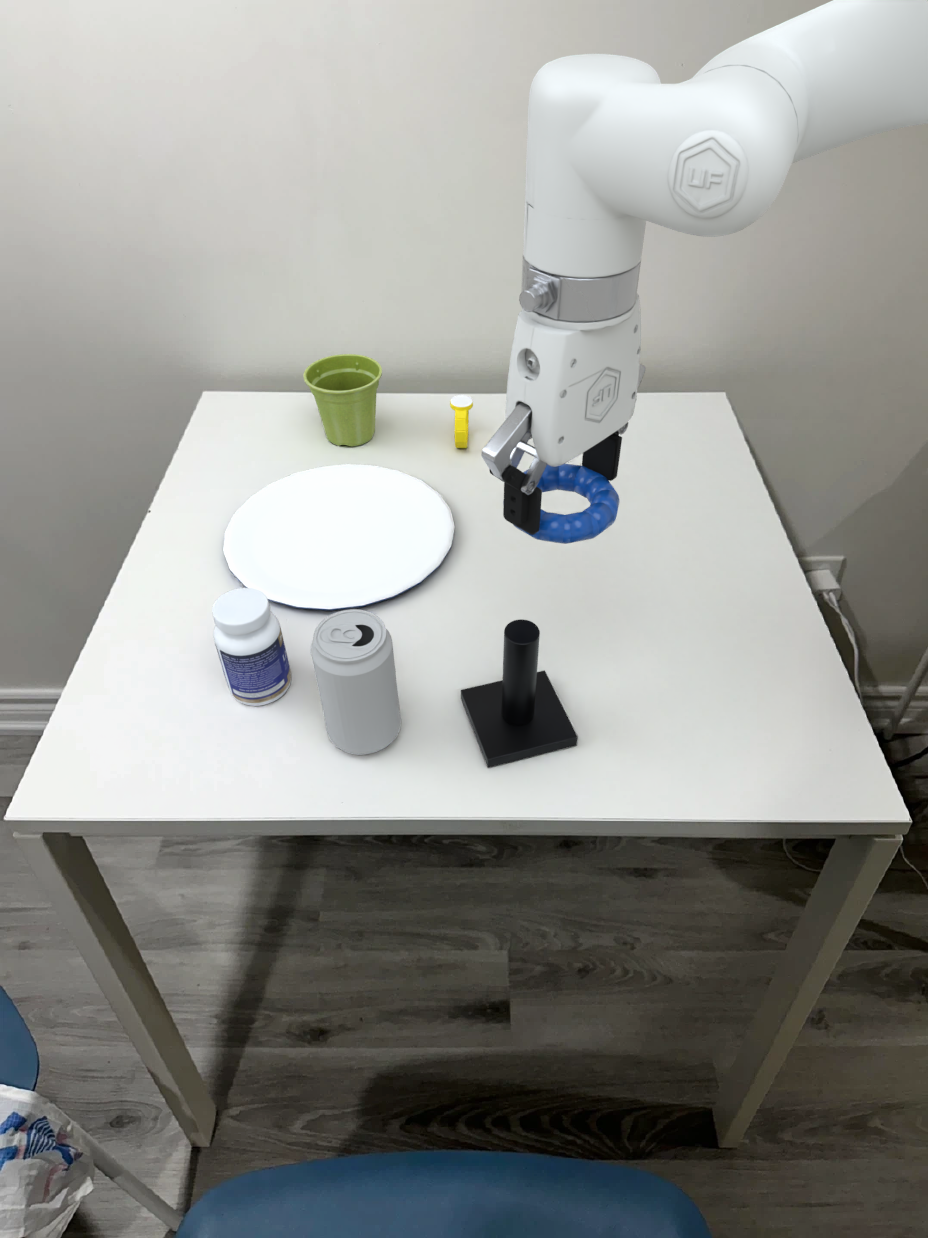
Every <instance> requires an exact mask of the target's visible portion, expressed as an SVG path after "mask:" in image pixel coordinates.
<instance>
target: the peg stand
mask: <svg viewBox="0 0 928 1238" xmlns="http://www.w3.org/2000/svg"><path fill="white" fill-rule="evenodd" d="M540 635H541V631H540V628H539V626H538V625H537V624H536V623H535V622H533V621H531V620H528V619H524V618H523V619H515V620H512V621H510V622H508V623H507V624H506V625H505V627H504V629H503V656H502V658H503V659H502V679H501V680H497V681H493V682H488V683H484V684H479V685H475V686H471V687H468V688H463V689H460V700H461V703H462V705H463V708H464V711H465V714H466V715H467V716H466V717H467V718H468V721H469V724H470V726H471V729H472V731H473V734H474V737H475V739H476V742H477V744H478V746H479V750H480V752H481V754H482V757H483V760H484V763H485V765H486V767H487V769H491V768H494V767H498V766H502V765H505V764H510V763H515V762H518V761H522V760H525V759H530V758H535V757H537V756H541V755H547V754H549V753H553V752H557V751H561V750H565V749H570V748H573V747H576V746H577V745H578V741H579V740H578V738H579V736H578V734H577V733H576V730H575V728H574V727H573V724H572V723H571V720H570V719H569V716H568V715H567V712H566V710H565V708H564V707H563V704H562V702H561V700H560V698H559V696H558V694H557V692H556V690H555V688H554V686H553V684H552V682H551V680H550V678H549V676H548V674H547V671H546V670H540V671H538V664H539V663H538V662H539V651H540Z"/></svg>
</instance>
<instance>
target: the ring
mask: <svg viewBox="0 0 928 1238" xmlns="http://www.w3.org/2000/svg"><path fill="white" fill-rule="evenodd" d="M527 471H528V469H526V470H524V471H522V472H523V473H525V474H526V473H527ZM536 487H538V488H540V489H541V490H542V493H548V492H552V491H553V492H554V491H564V492H571V493H572V492H573V493H575V494H577V495H579V496H582V497H583V498H585V499H587V501H588V502H589V506H588V507H586V508H585V509H583V510H582V511H578V512H577V511H576V512H571V513H567V514H566V513H565V514H563V513H555V512H550V511H546V510H543V509H542V508H541V515H540V528H539V531H538V532H537V533H535V534H534V535H531V534H529V533H527V532H526V531H524V530H522V529H520V528H519V527H517V526H515V525H513V526H514V527H515V528H516V529H518V530H519V531H521V532H523V533H525V534H526V535H528V536H529V537H532V538H533V539H535V540H536V541H542V542H550V543H556V544H563V545H567V544H572V543H573V544H574V543H578V542H582V541H583V542H584V541H588V540H592V539H595V538H596V537H598V536H599V535H601V534H602V533H603V532H605V531H606V530H607V529H608V528H610V527H611V526H612V525H614V523H615V522H616V520H617V516H618V510H619V506H620V496H619V493H618V491H617V490H616V488H615V487H614V486H613V484H612V483H611V481H609V480H608V479H607V478H606V477H605V476H603V475H601V474H599V473H597V472H595V471H593V470H591V469H589V468H587V467H585V466H582V464H581V465H579V464H573V463H572V464H571V463H565V464H563V465H560V466H555V467H553V466H550V465H548V464H547V466H546V468H545V470H544V472H543V474H542V476H541V478H540V480H539V482H538V484H537V486H536ZM502 504H503V505H502V506H503V507H504V499H503V502H502Z"/></svg>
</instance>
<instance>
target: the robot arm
mask: <svg viewBox="0 0 928 1238" xmlns="http://www.w3.org/2000/svg"><path fill="white" fill-rule="evenodd" d="M526 123H527V125H526V128H527V129H526V153H525V154H526V155H525V156H526V157H525V180H524V181H525V182H524V183H525V185H524V214H523V239H522V241H523V242H522V264H521V269H522V270H521V290H520V291H521V292H520V294H519V299H518V301H519V305H520V307H521V311H519V313H518V314H517V319H516V324H515V329H514V334H513V340H512V345H511V351H510V357H509V363H508V364H509V365H508V374H507V383H506V393H505V417H504V418H505V420H504V422H502V424H501V425H500V427H499V428H498V429H497V430H496V432H495V433H494V434H493V435H492V436H491V438H490V439H489V440H488V441H487V443H486V444H485V445H484V447H483V448H482V450H481V457H482V459H483V461H484V463H485V465H486V466H487V468H488V470H489V471H488V472H489V474H490V475H491V476H493V477H495V478H497V479H498V480H499V481H501V482H503V500H504V506H503V512H502V515H503V518H504V520H505V521H506V522H508V523H510V524H512V525H513V526H514V525H515V526H517V527H519V528H520V529H522V530H524V531H526V532H527V533H529V534H531V535H534V534H535V533H537V532H538V531H539V528H540V515H541V509H542V498H543V497H542V496H543V492H542V490H541V489H540V488H538V487H536V486H537V484H538V482H539V480H540V478H541V476H542V474H543V472H544V470H545V468H546V466H547V464H548V465H550V466H553V467H555V466H560V465H563V464H568V463H569V462H571V461H572V460H574V459H575V458H577V457H579V456H580V455H582V459H581V466H585V467H587V468H589V469H591V470H593V471H595V472H597V473H599V474H601V475H603V476H605V477H606V478H607V479H608V480H609V482H611V481H614V480H615V479H616V478H617V477H618V472H619V464H620V458H621V457H620V456H621V449H622V443H623V436H621V435H623V434H625V432H626V431H627V429H628V427H629V421H630V420H631V419H632V417H633V416H634V413H635V408H636V403H637V396H638V395H637V394H638V390H639V387H640V385H641V382H642V380H643V378H644V375H645V373H646V369H647V367H646V365H644V364H641V349H642V313H641V312H642V311H641V309H642V308H641V302H640V295H639V294H638V287H639V279H640V272H641V264H642V256H643V249H644V240H645V235H646V226H647V225H646V224H647V222H648V223H652V224H654V225H658V226H660V227H664V228H667V229H669V230H672V231H676V232H678V233H683V234H686V235H691V236H695V237H703V238H704V237H707V238H715V237H724V236H728V235H732V234H735V233H738V232H741V231H743V230H744V229H747V228H748V227H750V226H751V225H753V224H754V223H756V222H757V221H758V220H759V219H761V217H763V216H764V214H765V213H767V211H768V210H770V208H771V206H772V205H773V204H774V202H775V201H776V199H777V198H778V196H779V194H780V192H781V190H782V189H783V186H784V184H785V181H786V179H787V176H788V174H789V171H790V169H791V167H792V164H796V163H797V162H800V161H803V160H806V159H809V158H811V157H814V156H816V155H820V154H821V153H824V152H827V151H830V150H832V149H837V148H838V147H839V148H840V147H842V146H845V145H847V144H851V143H854V142H856V141H859V140H863V139H867V138H869V137H872V136H875V135H879V134H883V133H887V132H890V131H895V130H899V129H903V128H907V127H908V128H909V127H915V126H920V125H921V126H922V125H928V0H831V1H828V2H826V3H824V4H821V5H819V6H817V7H814V8H813V9H810V10H808V11H806V12H803V13H802V14H799V15H797V16H794V17H792V18H790V19H787V20H786V21H783V22H781V23H779V24H777V25H774V26H772V27H770V28H768V29H765V30H763V31H761V32H759V33H756V34H754V35H752V36H750V37H748V38H746V39H743V40H741V41H739V42H737V43H736V44H733V45H731V46H730V47H728V48H726V49H725V50H723V51H721V52H720V53H718V54H716V55H715V56H714V57H712V58H711V59H710V60H709V61H708V62H707V63H706V64H704V65H703V66H702V67H701V68H700V69H699V70H697V72H696V73H695V74H694V75H693V76H692V77H691V78H690V79H687V80H685V81H684V80H683V81H682V82H678V83H662V81H661V78H660V76H659V74H658V72H657V71H656V69H655V68H654V67H653V66H651V65H650V64H649V63H648V62H646V61H643V60H641V59H638V58H635V57H631V56H627V55H620V54H612V53H611V54H609V53H584V54H583V53H582V54H572V55H566V56H562V57H558V58H555V59H553V60H550V61H548V62H546V63H545V64H544V65H542V66H541V67H540V68H539V69H538V70H537V72H536V74H535V75H534V77H533V78H532V81H531V83H530V87H529V93H528V104H527V122H526ZM530 440H532V442H533V445H531V444H530V443H528V442H529V441H530ZM524 454H528V455H530V456H531V457H533V459H532V462H531V463H530V465H529V467H528V468H527V470H528V471H527V473H526V474H525V473H523V472H524V471H522V470H520V469H519V468H518V466H519V464H520V463H521V460H522V458H523V457H524ZM515 526H514V527H515Z"/></svg>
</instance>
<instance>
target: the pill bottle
mask: <svg viewBox="0 0 928 1238" xmlns="http://www.w3.org/2000/svg"><path fill="white" fill-rule="evenodd" d="M211 614H212V618H213V623H214V627H213V633H212V638H213V642H214V646H215V649H216V652H217V655H218V658H219V662H220V665H221V668H222V669H221V670H222V671H223V675H224V678H225V682H226V685H227V688H228V691H229V692H230V695H231V696H232V698H234V699H235V700H236V701H237V702H238V703H241V704H243V705H246V706H255V707H257V706H264V705H269V704H271V703H273V702H276V701H277V700H279V699H280V698H282V697H283V696H284V695H285V693H286V692H287V691H288V689H289V688H290V686H291V683H292V671H291V667H290V666H291V665H290V662H289V657H288V654H287V649H286V645H285V641H284V636H283V632H282V628H281V627H282V626H281V624H280V621H279V618H278V617H277V616H276V614H275V613H274V612H273V611H272V609H271V606H270V602H269V600H268V598H267V597H266V595H265V594H264V593H263V592H261V591H259V590H257V589H253V588H246V587H238V588H234V589H231V590H228V591H226V592H224V593H223V594H221V595H220V596H219V597H217V599H216V600H215V602H214V603H213V605H212V608H211Z"/></svg>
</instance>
